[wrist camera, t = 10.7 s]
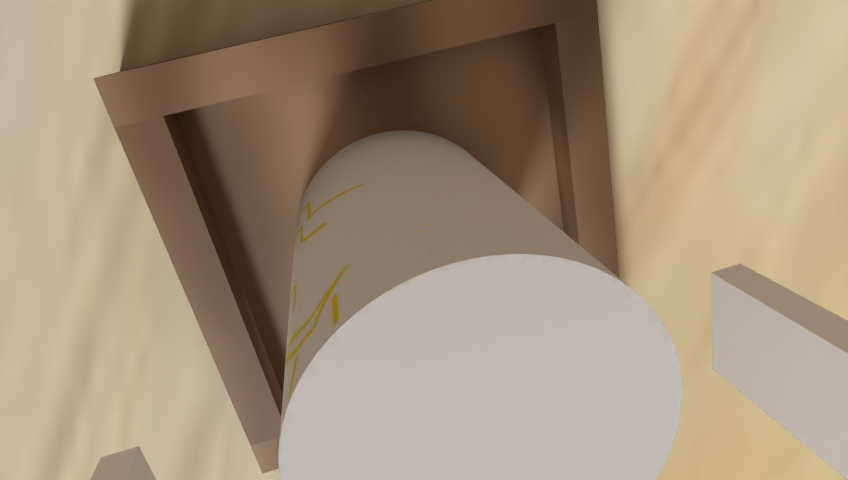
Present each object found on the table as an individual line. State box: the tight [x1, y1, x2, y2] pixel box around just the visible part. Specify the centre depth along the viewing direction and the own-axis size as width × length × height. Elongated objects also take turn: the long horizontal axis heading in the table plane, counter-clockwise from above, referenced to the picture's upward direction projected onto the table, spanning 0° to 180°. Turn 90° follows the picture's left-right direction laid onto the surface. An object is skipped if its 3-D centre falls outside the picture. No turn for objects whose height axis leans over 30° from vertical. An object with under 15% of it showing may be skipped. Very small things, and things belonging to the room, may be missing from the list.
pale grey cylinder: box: [278, 130, 683, 480], centre depth 17 cm, size 8×8×12 cm
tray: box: [94, 0, 619, 473], centre depth 22 cm, size 16×16×2 cm
